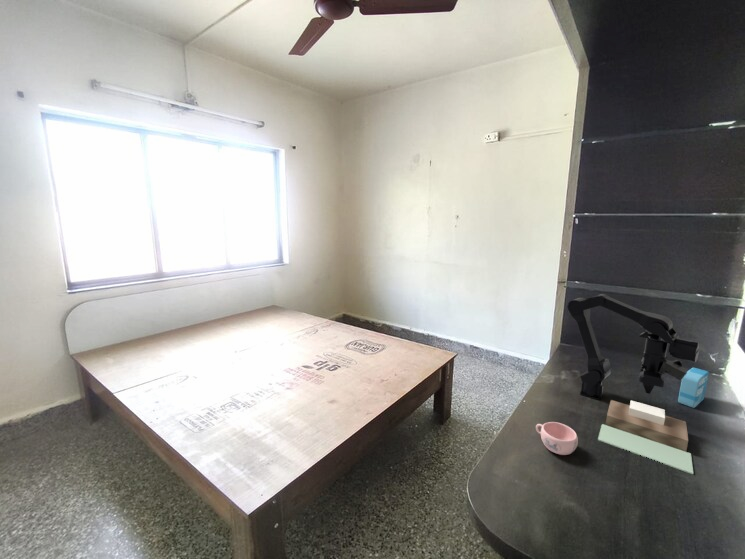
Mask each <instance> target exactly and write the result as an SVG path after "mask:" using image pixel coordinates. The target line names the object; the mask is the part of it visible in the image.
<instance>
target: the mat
mask: <svg viewBox="0 0 745 559" xmlns="http://www.w3.org/2000/svg"><path fill="white" fill-rule="evenodd" d="M597 441H598V442H600V443H605V444H608V445H611V446H612V447H614V448H615V447H616V448H619V449H621V450H623V449H624V450H623V451H626V450H627V451H626V452H629V451H630V453H632V454H635V455H637V456H640V455H641V457H643V458H646V457H647V458H646V459H648V458H649V460H651V459H652V460H651V461H654V460H655V462H657V461H658V462H657V463H659V462H660V463H659V464H662V463H663V464H662V465H664V466H665V465H666V466H668V467H671V468H673V469H676V470H678V471H679V470H680V471H682V472H685V473H687V474H691V475H694V467H693V458H692V453H690V452H687V451H686V452H685V451H682V450H679V449H676V448H673V447H670V446H667V445H664V444H661V443H658V442H655V441H652V440H649V439H646V438H643V437H640V436H637V435H634V434H631V433H628V432H625V431H622V430H619V429H616V428H613V427H610V426H607V425H606V424H604V423H602V424H601V425H600V430H599V432H598V437H597Z"/></svg>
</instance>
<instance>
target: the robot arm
mask: <svg viewBox="0 0 745 559" xmlns="http://www.w3.org/2000/svg"><path fill="white" fill-rule="evenodd" d="M596 307H602V308H604V309H606V310H608V311H611V312H613V313H615V314H617V315H619V316H622V317H624V318H627V319H629V320H630V321H633V322H635V323H636V324H638V325H639V327H641V328H642V329H644V330H645V331H644V332H642V333H640V334H639V335H638V337H639V338H643V339H646V340H645V344H644V351H643V356H642V358H641V361H640V366H641V369H640V370H639V376H638V377H639V378H638V381H639V383H642V386H643V388H644V392H645V394H648V395H651V393H652V391H653V389H654V388H655V387H660V388H663V387H664V384H665V378H664V377H665V376H664V375H665V374H668V375H670V376H671V377H673V378H675V379H676V380H679V381H682V378H683V377H684V376H685V375H686V374H687V371H688V370H687V368H686V367H685V366H683V362H682V361H681V360H684V361H688V362H692V363H696V362H697V361H698V358H699V354H700V341H698V340H692V339H686V338H682V337H680V335H679V333H678V332H677V331H676V330H675V328H674V327H673V326H674V324H673V321H672V319H671V318H669V317H668V316H666V315H664V314H663V315H662V314H659V313H655V312H649V311H645V310H641V309H639V308H637V307H634V306H632V305H629V304H627V303H625V302H622V301H619V300H618V299H615V298H613V297H610V296H608V295H607V294H605V293H601V294H598V295H595V296H590V297H587V298H585V297H578V298H575V299H573V300H570V301H569V302H568V303H567V306H566V308H567V311H568V312H569V314H570V317H571V318H572V319H573V320H574V321H575V322H576V324H577V328H578V331H579V334H580V337H581V340H582V344H583V346H584V350H585V353H586V356H587V360H586V362H587V363H586V368H587V370H586V371H585V372H583V373H582V374H581V375H580V376H579V377H580V379H581V387H580V388H581V389H580V391H579V395H581V396H584V397H588V398H591V399H594V400H597V401H600V398H602V397H603V391H604V384H603V381H604V380H605V379H606V378H607V377H609V376H610V375H611V373H612V371H611V370H612V369H613V368H612V366H611V363H610V359H609V358H605V357H604V355H602V353H601V350H600V347H599V345H598V344H599V343H598V341H597V337H596V334H595V332H594V328H593V326H592V322H591V309H593V308H596ZM668 345H669V347H668ZM667 351H668V353H669V355H670V356H671V357H672V358H677V359H674V360H668V359H667ZM679 359H680V360H679Z"/></svg>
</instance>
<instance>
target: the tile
mask: <svg viewBox="0 0 745 559" xmlns="http://www.w3.org/2000/svg"><path fill="white" fill-rule="evenodd" d="M629 405H630V408H629V414H628V415H632V416H635V417H638V418H641V419H645V420H648V421H651V422H655V423H658V424H661V425H664V421H665V416H666V412H665V411H666V410H665V409H663V408H659V407H657V406H652V405H649V404H646V403H643V402H637V401H635V400H630V403H629Z"/></svg>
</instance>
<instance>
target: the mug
mask: <svg viewBox="0 0 745 559" xmlns="http://www.w3.org/2000/svg"><path fill="white" fill-rule="evenodd" d="M539 428H540V429H539ZM535 431H536V432H537V434H539V435H540V437H541V441H542V443H543V445H544V446H545V448H546V449H548V450H549V451H550V452H551V453H553V454H554V453H555V454H556V455H559V456H567V455H571V454H573V453H574V452H575V450H576V449H577V447H578V442H579V438H578V435H577V433H576V431H575V430H574V429H573V428H571V427H570V426H569V425H567V424H564V423H562V422H561V423H560V422H558V421H557V422H556V421H549V422H545V423H543V424H542V423H537V424H536V425H535Z"/></svg>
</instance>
